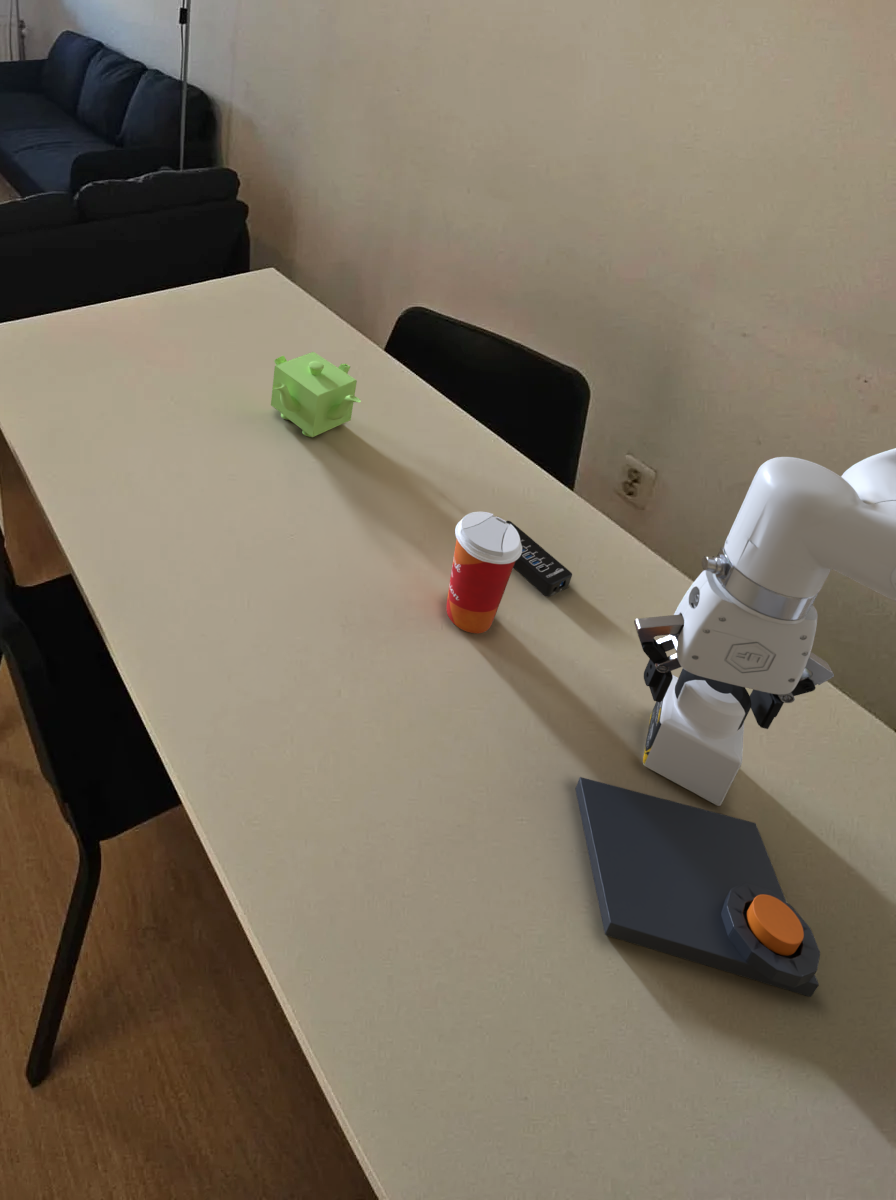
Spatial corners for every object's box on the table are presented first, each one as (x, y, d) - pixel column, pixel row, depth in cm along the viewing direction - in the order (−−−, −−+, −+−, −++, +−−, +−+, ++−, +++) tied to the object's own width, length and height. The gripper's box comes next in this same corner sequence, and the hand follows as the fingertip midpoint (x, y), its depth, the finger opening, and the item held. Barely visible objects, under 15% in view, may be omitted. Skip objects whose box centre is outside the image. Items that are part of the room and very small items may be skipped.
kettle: (353, 452, 129) (362, 395, 125) (267, 441, 131) (272, 385, 127) (348, 399, 143) (356, 346, 138) (270, 390, 145) (276, 338, 140)
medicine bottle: (649, 715, 89) (681, 639, 84) (724, 753, 85) (761, 676, 80) (641, 766, 83) (674, 688, 78) (720, 809, 80) (759, 730, 75)
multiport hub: (505, 531, 114) (509, 519, 113) (569, 586, 105) (574, 574, 104) (483, 540, 112) (486, 528, 111) (546, 598, 103) (550, 585, 102)
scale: (752, 835, 77) (764, 813, 76) (818, 1009, 65) (834, 987, 64) (575, 788, 81) (583, 766, 79) (606, 945, 69) (617, 922, 67)
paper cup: (455, 581, 105) (475, 499, 100) (511, 616, 100) (535, 532, 95) (425, 614, 100) (445, 530, 95) (483, 653, 95) (506, 566, 90)
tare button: (785, 912, 69) (792, 901, 68) (804, 962, 65) (812, 950, 65) (739, 900, 69) (746, 888, 69) (756, 947, 66) (763, 936, 66)
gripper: (675, 588, 72) (622, 712, 79) (892, 636, 69) (817, 762, 76) (652, 530, 79) (605, 649, 86) (848, 571, 75) (783, 692, 82)
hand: (704, 702), depth 81 cm, fingers open, 9 cm apart
